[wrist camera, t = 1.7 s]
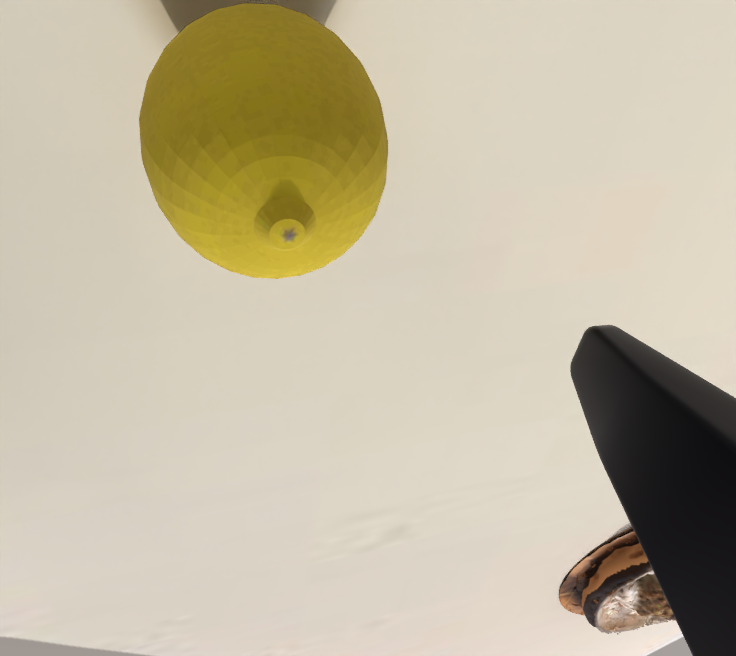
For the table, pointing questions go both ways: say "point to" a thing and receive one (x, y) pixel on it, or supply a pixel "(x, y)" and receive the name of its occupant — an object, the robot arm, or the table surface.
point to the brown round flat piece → (616, 588)
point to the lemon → (263, 141)
